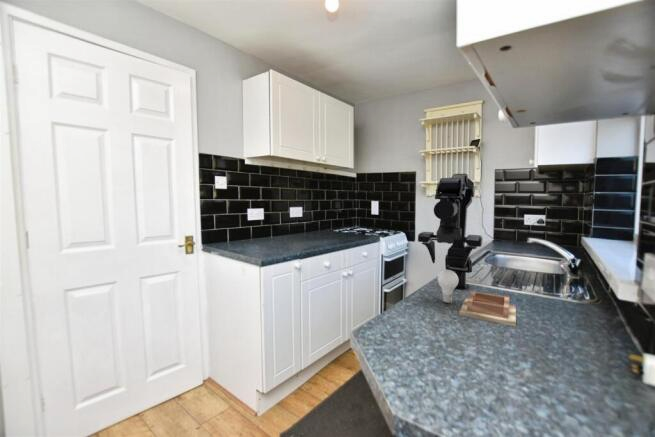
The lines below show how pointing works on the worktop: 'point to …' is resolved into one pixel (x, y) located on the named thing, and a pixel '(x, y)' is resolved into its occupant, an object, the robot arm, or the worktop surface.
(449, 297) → the lightbulb
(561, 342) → the worktop surface
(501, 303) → the holder
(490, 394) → the worktop surface
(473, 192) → the robot arm
